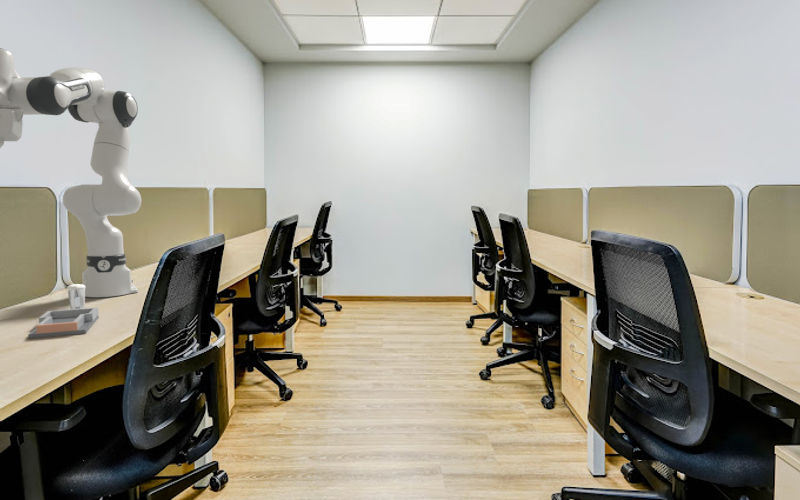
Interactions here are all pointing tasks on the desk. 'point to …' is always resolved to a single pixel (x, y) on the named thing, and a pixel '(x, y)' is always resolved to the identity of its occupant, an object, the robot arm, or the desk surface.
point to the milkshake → (76, 296)
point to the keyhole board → (65, 322)
